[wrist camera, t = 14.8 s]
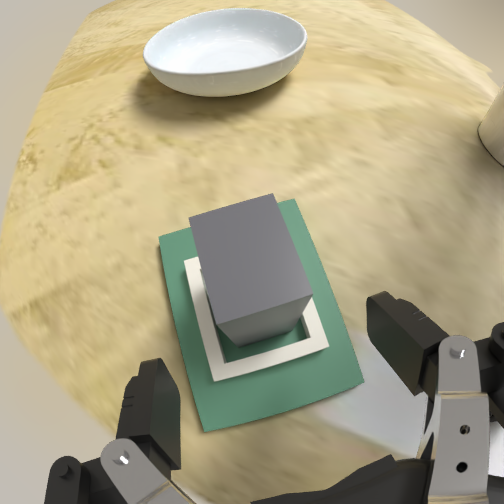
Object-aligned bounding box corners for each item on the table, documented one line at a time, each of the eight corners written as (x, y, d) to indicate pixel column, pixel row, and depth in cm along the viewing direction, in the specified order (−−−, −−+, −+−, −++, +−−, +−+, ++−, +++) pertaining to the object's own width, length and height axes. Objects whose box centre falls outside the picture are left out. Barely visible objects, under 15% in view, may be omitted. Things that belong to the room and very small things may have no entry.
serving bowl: (130, 85, 36) (116, 49, 30) (234, 33, 42) (231, 1, 35) (218, 145, 30) (209, 94, 24) (334, 74, 35) (340, 34, 29)
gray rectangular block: (219, 283, 23) (188, 216, 13) (269, 267, 23) (272, 191, 14) (238, 347, 21) (216, 324, 11) (291, 331, 21) (313, 293, 12)
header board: (162, 242, 26) (152, 228, 23) (293, 205, 26) (295, 188, 24) (207, 429, 19) (200, 435, 17) (359, 382, 20) (371, 382, 18)
